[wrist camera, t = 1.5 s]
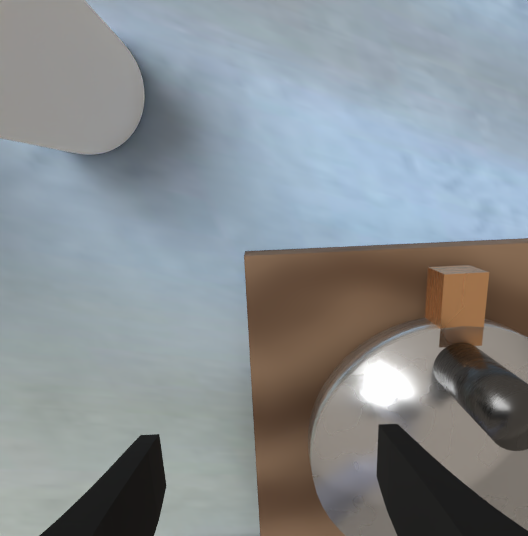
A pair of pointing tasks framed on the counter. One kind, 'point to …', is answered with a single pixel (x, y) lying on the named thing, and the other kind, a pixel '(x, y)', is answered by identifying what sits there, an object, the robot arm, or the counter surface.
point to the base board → (341, 343)
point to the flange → (427, 406)
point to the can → (65, 78)
